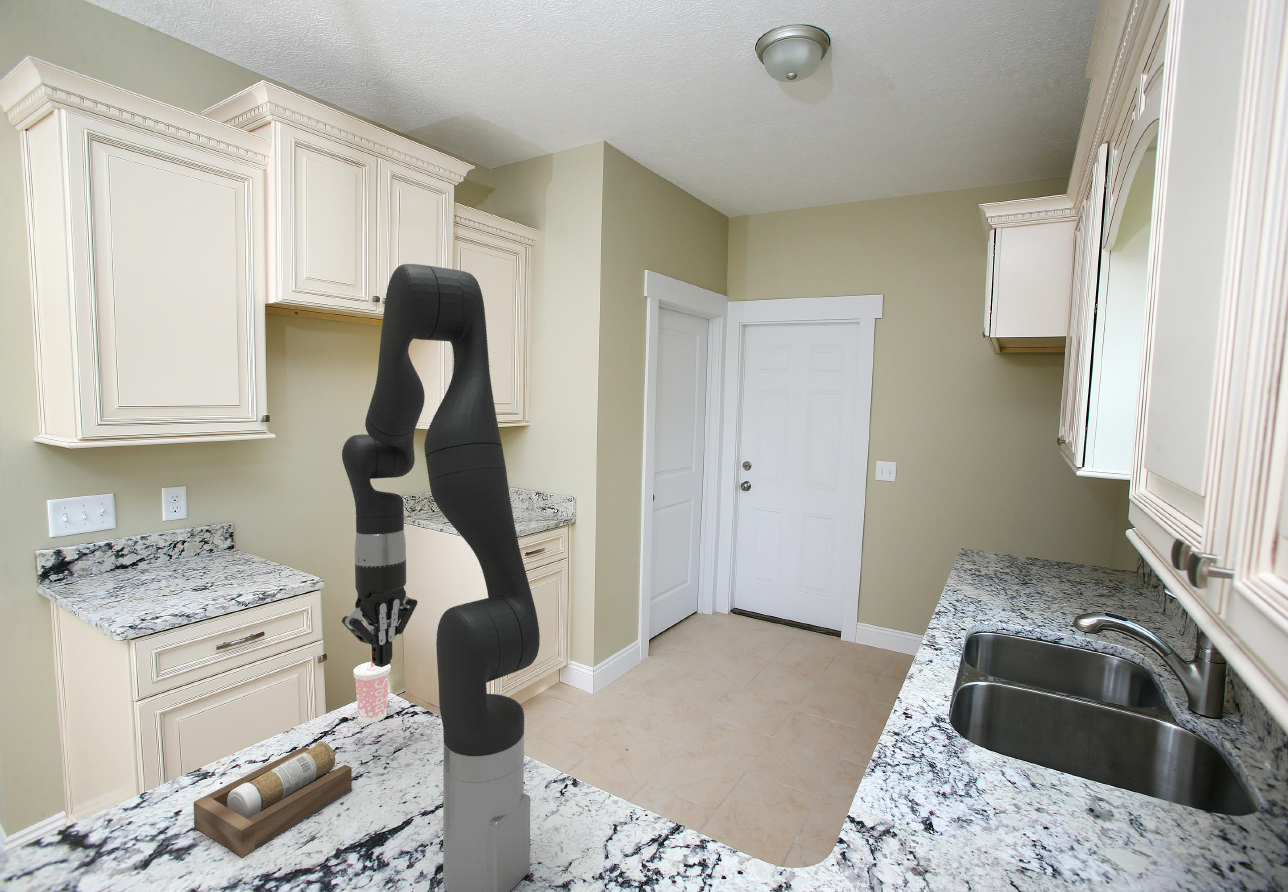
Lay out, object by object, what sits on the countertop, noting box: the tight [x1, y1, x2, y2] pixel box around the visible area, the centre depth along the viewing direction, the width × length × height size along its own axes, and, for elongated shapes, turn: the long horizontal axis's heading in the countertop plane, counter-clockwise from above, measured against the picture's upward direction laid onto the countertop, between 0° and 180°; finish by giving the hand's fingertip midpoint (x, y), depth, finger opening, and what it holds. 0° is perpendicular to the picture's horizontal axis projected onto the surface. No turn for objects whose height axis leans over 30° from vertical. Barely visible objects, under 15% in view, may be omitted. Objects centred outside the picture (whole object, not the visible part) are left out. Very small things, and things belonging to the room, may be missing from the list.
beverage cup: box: [353, 649, 392, 724], centre depth 107 cm, size 6×6×14 cm
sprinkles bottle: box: [227, 741, 336, 819], centre depth 85 cm, size 5×5×14 cm
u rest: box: [193, 746, 353, 859], centre depth 83 cm, size 11×15×4 cm
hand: (382, 664), depth 97 cm, fingers closed
